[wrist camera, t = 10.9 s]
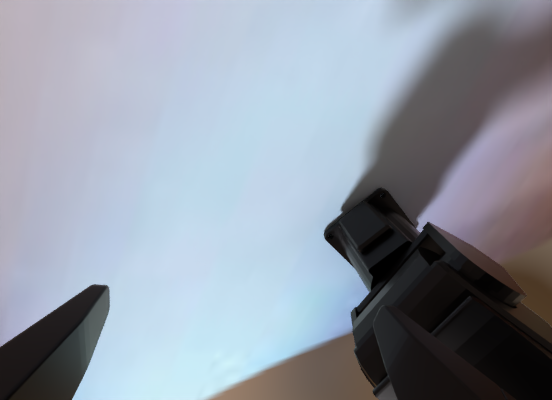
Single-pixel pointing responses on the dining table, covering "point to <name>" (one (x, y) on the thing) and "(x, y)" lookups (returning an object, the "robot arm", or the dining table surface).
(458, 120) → the dining table surface
